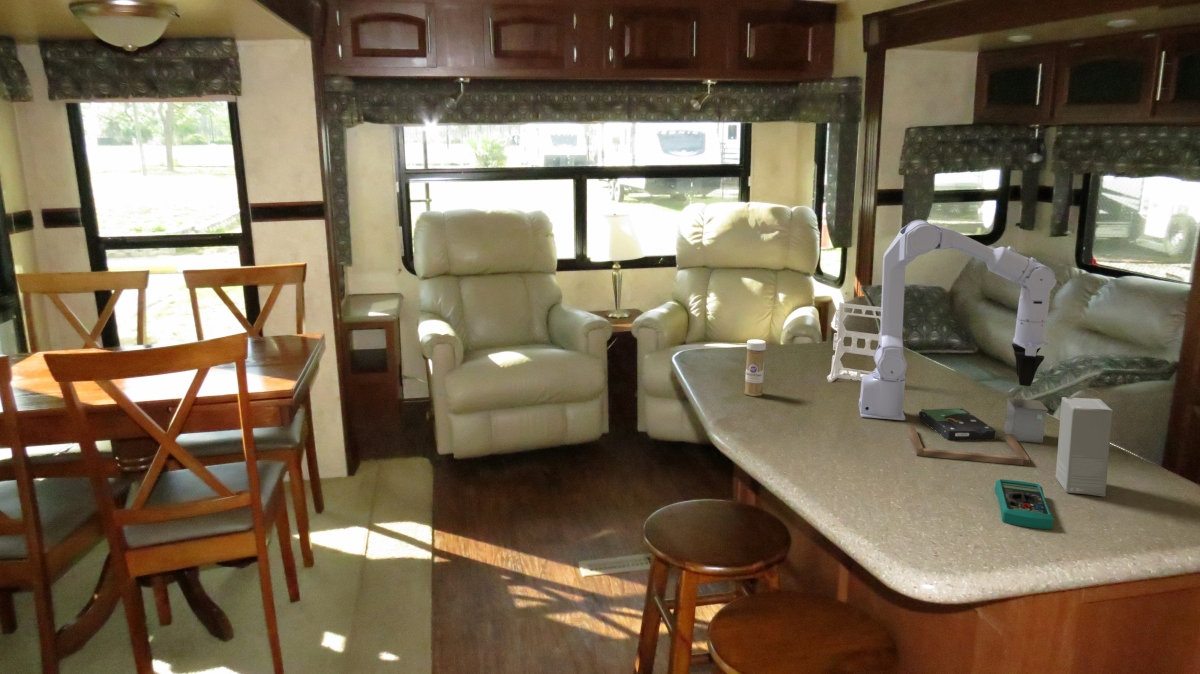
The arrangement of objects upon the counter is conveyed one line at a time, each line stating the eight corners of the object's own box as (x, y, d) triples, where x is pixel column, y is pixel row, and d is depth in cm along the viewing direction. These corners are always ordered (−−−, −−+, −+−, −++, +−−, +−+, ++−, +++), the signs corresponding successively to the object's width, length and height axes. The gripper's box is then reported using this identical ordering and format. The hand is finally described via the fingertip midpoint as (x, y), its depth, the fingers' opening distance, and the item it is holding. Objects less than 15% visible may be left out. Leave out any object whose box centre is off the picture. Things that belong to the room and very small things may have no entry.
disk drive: (996, 443, 171) (961, 419, 186) (997, 430, 171) (962, 407, 185) (947, 443, 171) (916, 419, 185) (949, 430, 170) (918, 407, 184)
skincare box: (1105, 498, 143) (1119, 411, 139) (1060, 493, 145) (1072, 407, 141) (1092, 480, 151) (1105, 397, 147) (1049, 475, 153) (1061, 393, 149)
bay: (916, 455, 162) (917, 449, 162) (907, 430, 176) (908, 425, 176) (1029, 465, 157) (1030, 460, 157) (1011, 439, 171) (1011, 434, 171)
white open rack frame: (893, 378, 217) (900, 303, 213) (880, 390, 206) (887, 312, 201) (839, 369, 225) (845, 297, 220) (823, 381, 213) (829, 305, 209)
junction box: (1009, 440, 171) (1014, 407, 169) (1002, 430, 177) (1006, 398, 175) (1043, 443, 169) (1048, 409, 168) (1035, 433, 176) (1039, 400, 174)
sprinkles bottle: (744, 396, 200) (747, 342, 197) (744, 391, 204) (746, 338, 201) (763, 397, 199) (766, 343, 196) (762, 391, 203) (765, 339, 200)
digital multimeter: (1001, 526, 133) (1004, 509, 132) (993, 491, 146) (996, 476, 146) (1052, 534, 130) (1055, 517, 130) (1039, 498, 144) (1042, 482, 143)
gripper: (1056, 328, 167) (1047, 391, 170) (1049, 315, 180) (1041, 374, 183) (1017, 324, 170) (1009, 387, 173) (1013, 312, 183) (1006, 371, 186)
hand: (1023, 380), depth 178 cm, fingers open, 7 cm apart
